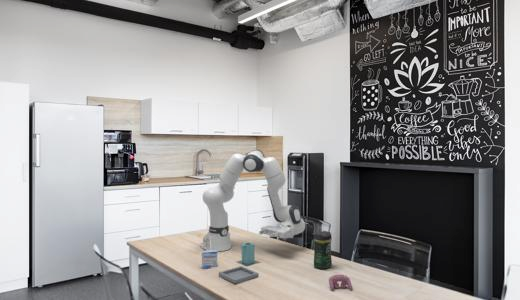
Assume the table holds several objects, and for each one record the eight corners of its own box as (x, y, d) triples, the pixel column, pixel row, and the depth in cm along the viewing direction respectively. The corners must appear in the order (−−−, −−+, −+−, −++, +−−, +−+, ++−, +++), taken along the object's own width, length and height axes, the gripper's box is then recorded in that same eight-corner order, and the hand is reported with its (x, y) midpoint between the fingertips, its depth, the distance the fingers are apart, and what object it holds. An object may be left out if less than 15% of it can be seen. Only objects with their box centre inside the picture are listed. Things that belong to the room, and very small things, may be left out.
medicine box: (202, 269, 188) (202, 252, 188) (201, 266, 193) (201, 250, 193) (217, 267, 191) (217, 251, 190) (216, 264, 195) (216, 249, 195)
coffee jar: (324, 271, 183) (323, 234, 183) (311, 267, 189) (311, 232, 188) (334, 266, 190) (334, 231, 190) (321, 263, 196) (321, 229, 195)
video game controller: (350, 291, 162) (348, 274, 165) (353, 290, 157) (351, 273, 161) (328, 291, 161) (327, 275, 164) (331, 290, 157) (329, 274, 160)
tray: (218, 276, 178) (218, 272, 178) (241, 269, 186) (241, 266, 186) (235, 284, 167) (235, 280, 167) (258, 277, 176) (258, 273, 176)
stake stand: (235, 263, 197) (235, 253, 197) (249, 259, 204) (249, 250, 204) (246, 267, 190) (246, 258, 190) (261, 263, 196) (260, 254, 196)
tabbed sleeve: (239, 262, 196) (239, 244, 196) (249, 260, 200) (248, 242, 200) (245, 264, 192) (244, 246, 192) (254, 262, 196) (254, 244, 196)
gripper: (271, 222, 221) (253, 225, 212) (294, 227, 205) (276, 231, 196) (271, 232, 221) (254, 236, 212) (295, 238, 205) (277, 242, 196)
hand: (265, 234), depth 204 cm, fingers open, 8 cm apart
